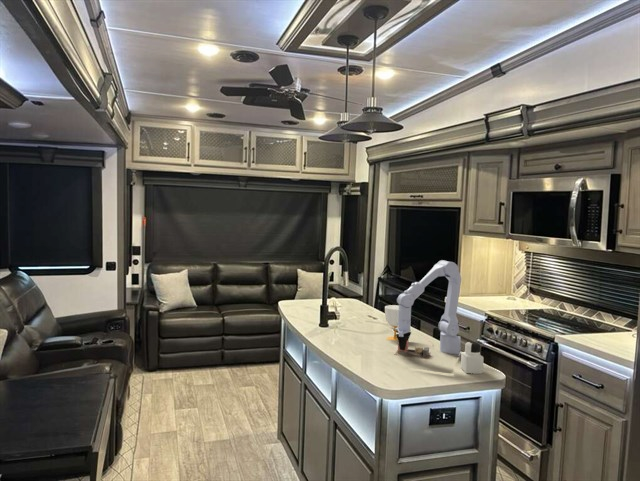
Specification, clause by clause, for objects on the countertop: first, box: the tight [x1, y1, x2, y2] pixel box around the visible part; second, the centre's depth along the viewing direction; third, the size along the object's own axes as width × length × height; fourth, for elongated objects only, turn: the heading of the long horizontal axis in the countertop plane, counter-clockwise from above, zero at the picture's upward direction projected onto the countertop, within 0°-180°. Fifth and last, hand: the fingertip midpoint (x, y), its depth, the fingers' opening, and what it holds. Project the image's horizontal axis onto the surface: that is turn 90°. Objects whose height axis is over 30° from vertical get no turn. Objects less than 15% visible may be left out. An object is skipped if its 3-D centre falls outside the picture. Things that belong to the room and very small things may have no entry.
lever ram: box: [397, 339, 409, 353], centre depth 219 cm, size 4×4×6 cm
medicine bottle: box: [460, 341, 484, 375], centre depth 198 cm, size 7×7×12 cm
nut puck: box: [414, 346, 424, 355], centre depth 216 cm, size 4×4×3 cm
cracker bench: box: [394, 347, 431, 360], centre depth 217 cm, size 15×11×4 cm
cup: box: [384, 304, 399, 341], centre depth 246 cm, size 12×12×17 cm
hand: (403, 348), depth 219 cm, fingers closed on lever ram, 4 cm apart
